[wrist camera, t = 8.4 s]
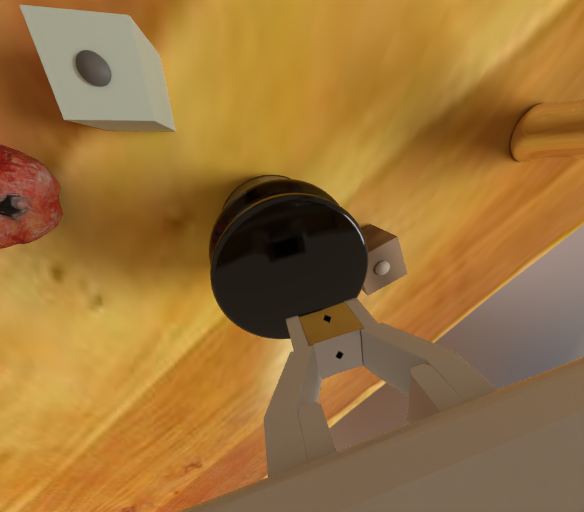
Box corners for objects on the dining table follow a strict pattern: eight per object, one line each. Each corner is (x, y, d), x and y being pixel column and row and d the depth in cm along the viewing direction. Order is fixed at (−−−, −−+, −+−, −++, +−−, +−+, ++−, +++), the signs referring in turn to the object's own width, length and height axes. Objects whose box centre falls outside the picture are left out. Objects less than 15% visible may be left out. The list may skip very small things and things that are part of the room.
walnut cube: (370, 224, 26) (398, 237, 21) (380, 256, 28) (408, 274, 23) (334, 244, 26) (354, 261, 21) (347, 274, 28) (368, 296, 23)
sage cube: (160, 56, 16) (127, 12, 12) (176, 131, 18) (153, 120, 14) (84, 51, 15) (15, 1, 11) (110, 131, 17) (61, 119, 13)
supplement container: (219, 267, 24) (201, 352, 13) (220, 166, 20) (195, 169, 9) (309, 269, 26) (354, 342, 16) (325, 180, 22) (400, 196, 12)
